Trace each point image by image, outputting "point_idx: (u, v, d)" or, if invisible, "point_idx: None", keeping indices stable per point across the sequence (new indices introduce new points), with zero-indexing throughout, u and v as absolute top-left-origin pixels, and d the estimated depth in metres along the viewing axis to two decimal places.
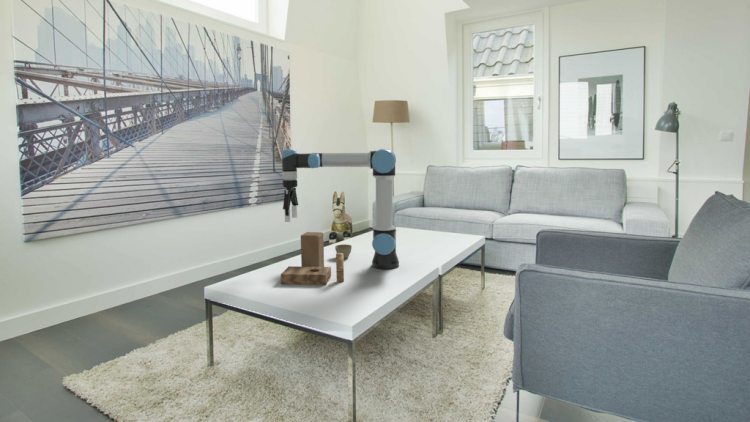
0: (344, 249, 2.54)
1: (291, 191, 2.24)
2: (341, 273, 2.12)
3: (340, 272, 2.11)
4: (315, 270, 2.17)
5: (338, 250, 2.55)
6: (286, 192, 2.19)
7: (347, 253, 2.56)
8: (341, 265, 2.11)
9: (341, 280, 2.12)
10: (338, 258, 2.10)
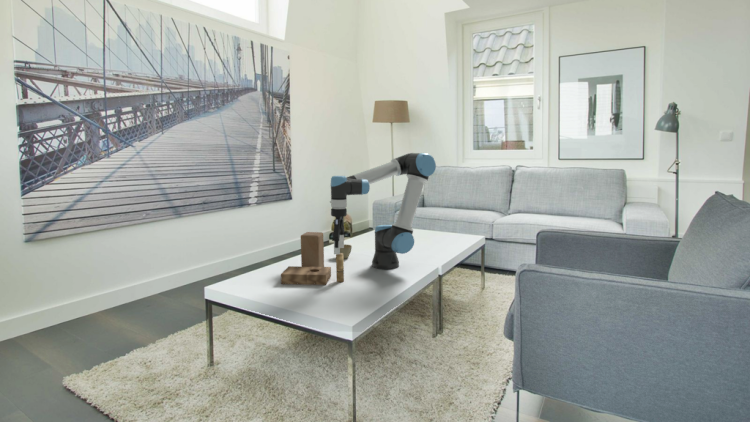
0: (344, 249, 2.54)
1: (340, 220, 2.07)
2: (341, 273, 2.12)
3: (340, 272, 2.11)
4: (315, 270, 2.17)
5: None
6: (336, 222, 2.02)
7: (347, 253, 2.56)
8: (341, 265, 2.11)
9: (341, 280, 2.12)
10: (338, 258, 2.10)
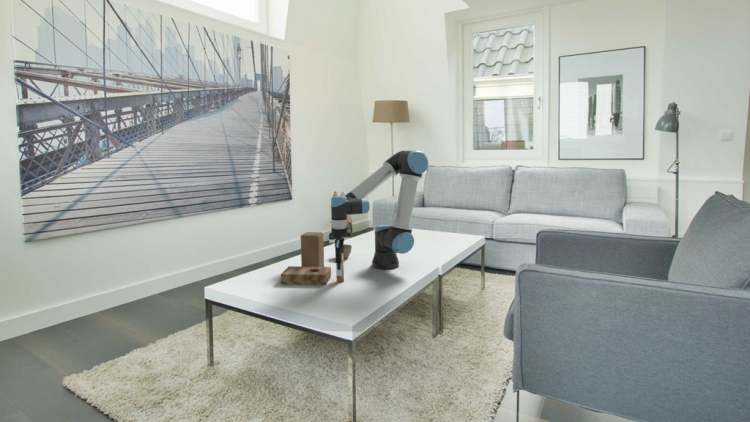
0: (344, 249, 2.54)
1: (341, 241, 2.09)
2: None
3: None
4: (315, 270, 2.17)
5: None
6: (337, 246, 2.05)
7: (347, 253, 2.56)
8: None
9: (341, 280, 2.12)
10: None
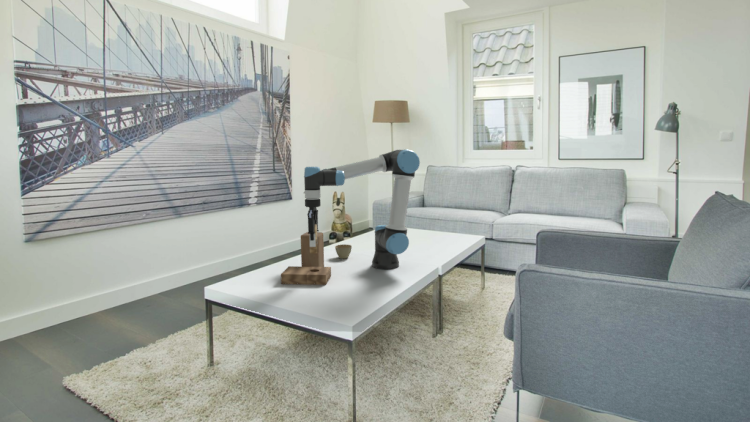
0: (344, 249, 2.54)
1: (314, 212, 2.09)
2: None
3: None
4: (315, 270, 2.17)
5: (338, 250, 2.55)
6: (309, 216, 2.05)
7: (347, 253, 2.56)
8: None
9: (314, 251, 2.12)
10: None
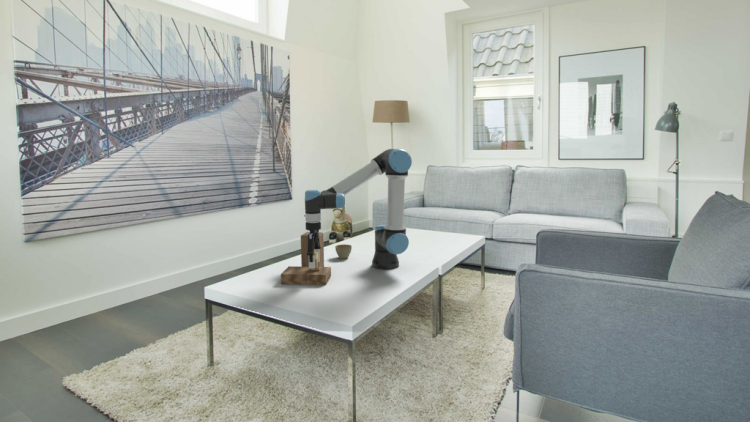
0: (344, 249, 2.54)
1: (314, 234, 2.10)
2: None
3: (314, 271, 2.13)
4: None
5: (338, 250, 2.55)
6: (310, 237, 2.06)
7: (347, 253, 2.56)
8: (315, 264, 2.13)
9: None
10: None
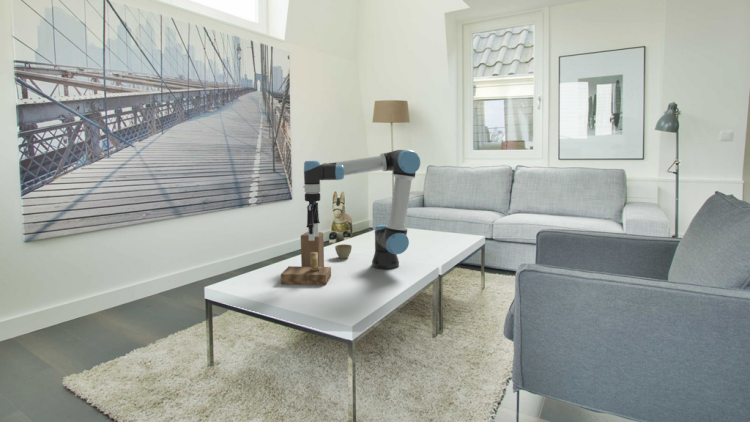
0: (344, 249, 2.54)
1: (314, 206, 2.08)
2: None
3: (314, 271, 2.13)
4: None
5: (338, 250, 2.55)
6: (309, 209, 2.04)
7: (347, 253, 2.56)
8: (315, 264, 2.13)
9: None
10: (312, 257, 2.12)
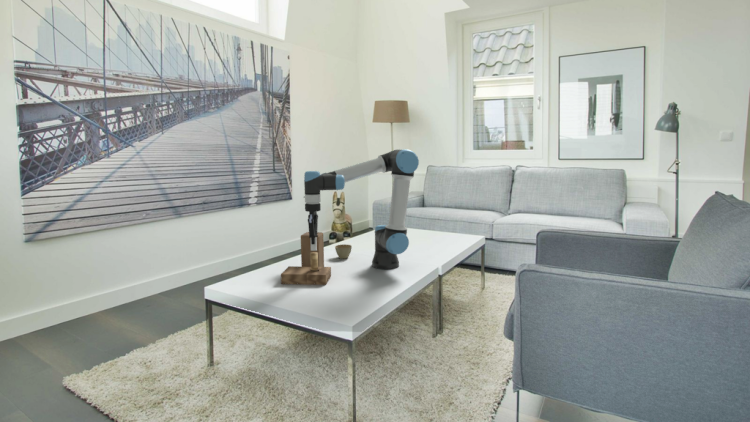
0: (344, 249, 2.54)
1: (314, 216, 2.09)
2: None
3: (314, 271, 2.13)
4: None
5: (338, 250, 2.55)
6: (310, 222, 2.06)
7: (347, 253, 2.56)
8: (315, 264, 2.13)
9: None
10: (312, 257, 2.12)
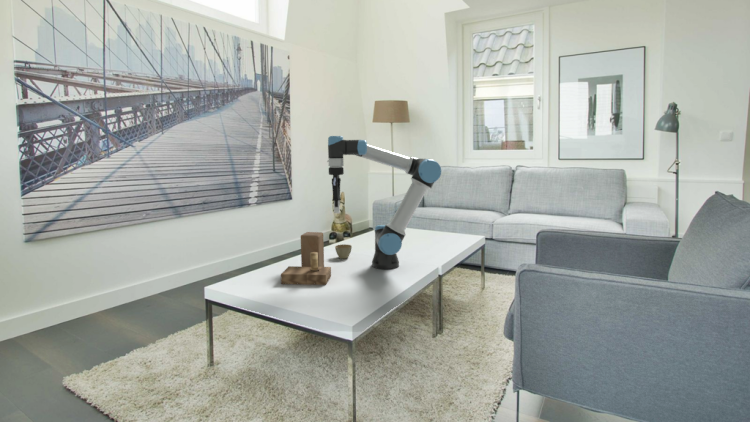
0: (344, 249, 2.54)
1: None
2: None
3: (314, 271, 2.13)
4: None
5: (338, 250, 2.55)
6: (334, 184, 2.13)
7: (347, 253, 2.56)
8: (315, 264, 2.13)
9: None
10: (312, 257, 2.12)
